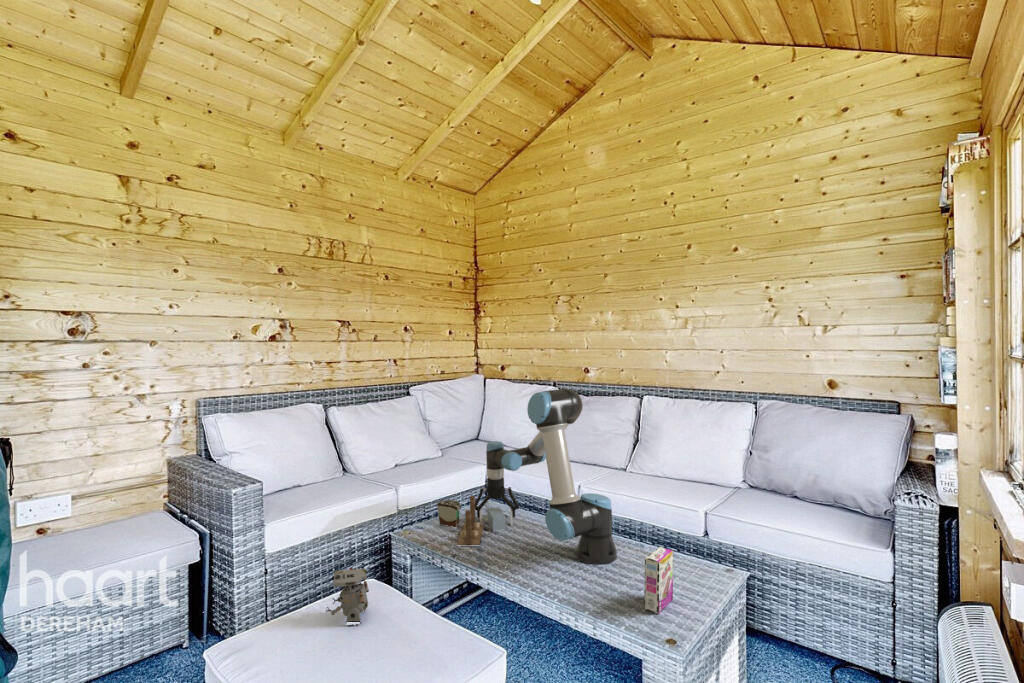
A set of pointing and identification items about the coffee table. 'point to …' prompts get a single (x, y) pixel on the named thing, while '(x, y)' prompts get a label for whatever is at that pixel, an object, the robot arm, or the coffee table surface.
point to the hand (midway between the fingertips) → (496, 524)
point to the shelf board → (496, 518)
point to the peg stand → (470, 527)
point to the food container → (449, 512)
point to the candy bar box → (658, 580)
